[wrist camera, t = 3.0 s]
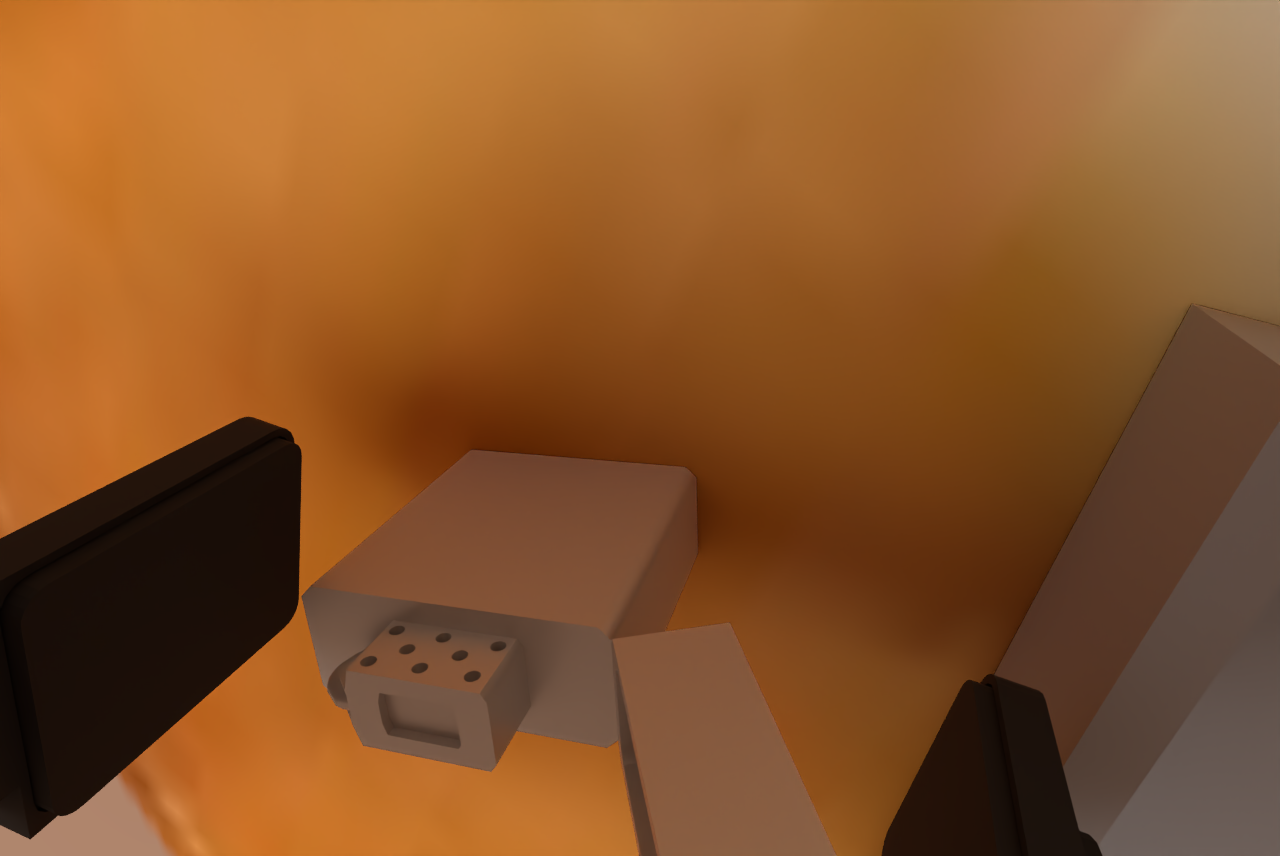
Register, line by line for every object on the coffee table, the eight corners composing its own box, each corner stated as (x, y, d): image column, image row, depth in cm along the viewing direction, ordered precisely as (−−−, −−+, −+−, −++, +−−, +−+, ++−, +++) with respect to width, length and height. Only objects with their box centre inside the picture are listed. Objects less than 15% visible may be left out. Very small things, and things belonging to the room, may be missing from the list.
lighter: (474, 536, 14) (70, 967, 7) (462, 448, 14) (5, 828, 7) (883, 583, 12) (873, 1235, 5) (892, 484, 12) (892, 1073, 5)
